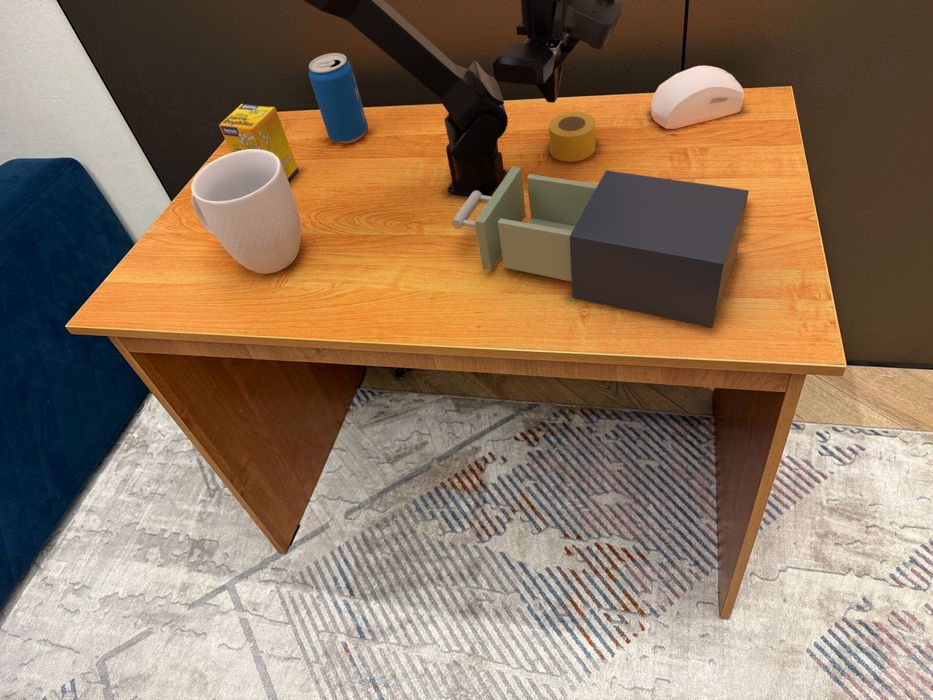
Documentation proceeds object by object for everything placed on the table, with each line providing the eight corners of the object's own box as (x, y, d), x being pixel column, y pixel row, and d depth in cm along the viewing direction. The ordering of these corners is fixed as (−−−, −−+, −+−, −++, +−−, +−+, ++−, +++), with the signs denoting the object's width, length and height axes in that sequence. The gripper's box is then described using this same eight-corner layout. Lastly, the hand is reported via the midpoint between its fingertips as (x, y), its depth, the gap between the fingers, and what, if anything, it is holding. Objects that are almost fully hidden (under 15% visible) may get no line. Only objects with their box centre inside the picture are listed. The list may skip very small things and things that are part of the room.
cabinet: (572, 297, 79) (569, 235, 73) (605, 232, 86) (605, 169, 79) (712, 328, 73) (723, 263, 67) (736, 255, 80) (749, 190, 73)
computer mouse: (747, 111, 99) (755, 69, 94) (660, 133, 99) (663, 92, 94) (727, 91, 103) (732, 49, 99) (643, 111, 103) (645, 71, 98)
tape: (543, 158, 99) (541, 133, 96) (559, 134, 102) (558, 109, 99) (586, 164, 96) (586, 138, 93) (601, 139, 100) (601, 113, 97)
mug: (194, 274, 92) (146, 193, 83) (239, 223, 99) (200, 142, 89) (286, 292, 87) (247, 207, 78) (329, 236, 94) (297, 152, 84)
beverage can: (366, 143, 108) (346, 69, 99) (326, 148, 109) (302, 75, 100) (371, 121, 113) (351, 49, 104) (332, 126, 113) (309, 54, 104)
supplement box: (246, 190, 104) (217, 125, 96) (268, 167, 108) (241, 102, 100) (279, 195, 102) (251, 128, 94) (300, 171, 106) (275, 105, 98)
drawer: (448, 262, 85) (437, 214, 80) (484, 208, 91) (477, 161, 86) (599, 294, 78) (599, 243, 72) (628, 233, 84) (629, 183, 79)
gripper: (582, 13, 69) (585, 149, 81) (640, -60, 80) (636, 71, 91) (482, 7, 74) (499, 137, 85) (550, -61, 84) (556, 64, 96)
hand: (551, 101), depth 89 cm, fingers closed
